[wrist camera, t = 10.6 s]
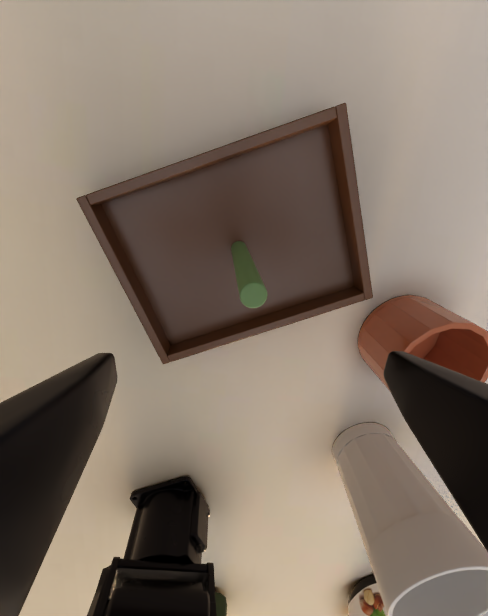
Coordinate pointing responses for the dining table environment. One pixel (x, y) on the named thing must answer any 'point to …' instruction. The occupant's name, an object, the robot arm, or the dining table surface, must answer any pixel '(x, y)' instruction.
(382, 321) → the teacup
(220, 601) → the character mug
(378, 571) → the cup
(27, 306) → the dining table surface
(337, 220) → the tray
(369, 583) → the spread jar
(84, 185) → the dining table surface
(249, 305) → the straw
